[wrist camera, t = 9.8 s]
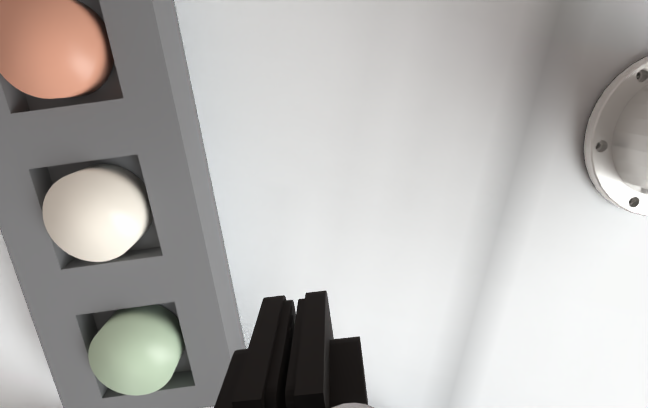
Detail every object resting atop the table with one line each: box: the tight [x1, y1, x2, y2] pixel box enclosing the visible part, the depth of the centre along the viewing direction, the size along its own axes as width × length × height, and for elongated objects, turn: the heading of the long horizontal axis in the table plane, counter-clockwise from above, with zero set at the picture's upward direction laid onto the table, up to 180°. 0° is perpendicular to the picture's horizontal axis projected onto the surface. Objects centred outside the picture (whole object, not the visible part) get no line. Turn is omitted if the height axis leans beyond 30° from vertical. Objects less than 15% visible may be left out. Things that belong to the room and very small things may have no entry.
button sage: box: [88, 304, 185, 396], centre depth 32 cm, size 6×6×3 cm
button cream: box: [42, 164, 153, 262], centre depth 29 cm, size 6×6×3 cm
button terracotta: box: [0, 0, 114, 99], centre depth 27 cm, size 6×6×3 cm
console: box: [0, 0, 246, 408], centre depth 31 cm, size 13×32×5 cm, turn 7°
